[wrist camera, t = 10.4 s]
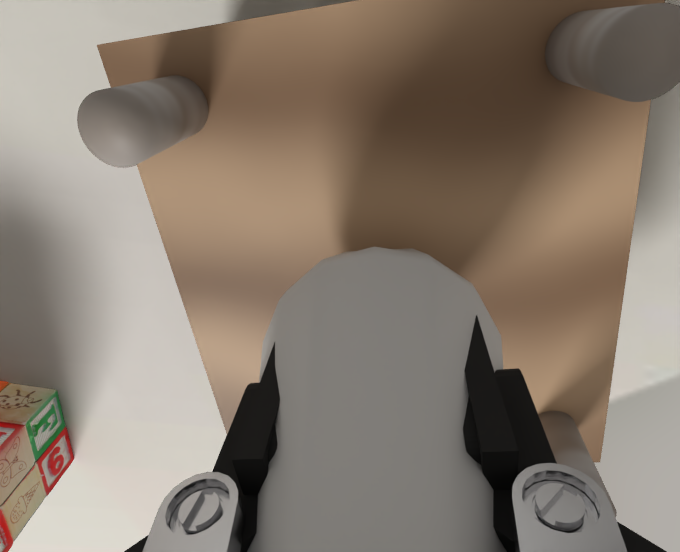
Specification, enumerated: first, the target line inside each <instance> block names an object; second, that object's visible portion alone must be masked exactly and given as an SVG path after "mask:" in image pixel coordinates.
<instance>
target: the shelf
mask: <svg viewBox="0 0 680 552" xmlns="http://www.w3.org/2000/svg"><path fill="white" fill-rule="evenodd" d="M97 47H98V50H99V53H100V56H101V59H102V62H103V65H104V68H105V71H106V74H107V77H108V80H109V83H110V86H111V88H108V89H103V90H98V91H95V92H93V93H91V94H89V95H88V96H87V97H86V98H85V99H84V100H83V101H82V103H81V105H80V107H79V110H78V118H77V121H78V128H79V132H80V135H81V137H82V140H83V142H84V143H85V145H86V146H87V148H88V149H89V150H90V151H91V153H92V154H93V155H95V156H96V157H97V158H98V159H99V160H101V161H103V162H104V163H106V164H108V165H111V166H114V167H120V168H127V167H132V166H135V165H137V167H138V170H139V173H140V176H141V179H142V182H143V185H144V188H145V191H146V194H147V197H148V200H149V203H150V206H151V209H152V212H153V215H154V218H155V221H156V224H157V227H158V229H159V232H160V235H161V238H162V241H163V244H164V247H165V250H166V253H167V256H168V259H169V262H170V265H171V268H172V271H173V274H174V277H175V280H176V283H177V286H178V289H179V292H180V295H181V298H182V301H183V304H184V307H185V310H186V313H187V316H188V319H189V322H190V325H191V328H192V331H193V334H194V337H195V340H196V343H197V346H198V349H199V352H200V355H201V358H202V361H203V364H204V367H205V370H206V373H207V376H208V379H209V382H210V385H211V388H212V391H213V394H214V397H215V400H216V403H217V406H218V409H219V412H220V415H221V418H222V421H223V424H224V427H225V430H226V433H227V434H228V431H229V429H230V426H231V424H232V421H233V419H234V416H235V414H236V411H237V409H238V406H239V404H240V401H241V399H242V396H243V394H244V391H245V389H246V387H247V385H248V384H250V383H259V377H260V367H261V356H262V345H263V340H264V338H265V335H266V332H267V330H268V327H269V325H270V322H271V320H272V317H273V314H274V312H275V309H276V307H277V304H278V302H279V300H280V298H281V297H282V296H283V295H284V294H285V292H286V291H287V290H288V289H289V288H290V287H292V286H293V285H294V284H295V283H296V282H297V281H298V280H299V279H301V278H302V277H303V276H304V275H305V274H306V273H307V272H309V271H310V270H311V269H312V268H313V267H314V266H315V265H316V264H318V263H319V262H320V261H321V260H322V259H325V258H329V257H332V256H335V255H338V254H341V253H344V252H350V251H359V250H362V249H366V248H370V247H381V248H387V249H415V250H418V251H420V252H423V253H425V254H428V255H430V256H431V257H433V258H434V259H436V260H437V261H439V262H440V263H442V264H443V265H445V266H446V267H448V268H449V269H451V270H452V271H454V272H455V273H457V274H458V275H460V276H461V277H463V278H464V279H466V280H467V281H469V282H470V283H472V285H473V286H474V288H475V289H476V291H477V292H478V294H479V296H480V298H481V299H482V301H483V303H484V305H485V307H486V309H487V311H488V312H489V314H490V316H491V318H492V320H493V322H494V324H495V325H496V327H497V329H498V331H499V333H500V335H501V341H502V356H503V369H516V368H519V369H520V370H521V372H522V374H523V377H524V379H525V382H526V384H527V387H528V390H529V392H530V395H531V397H532V400H533V403H534V405H535V408H536V410H537V413H538V416H539V418H540V421H541V423H542V426H543V429H544V431H545V434H546V436H547V439H548V441H549V444H550V447H551V449H552V452H553V454H554V457H555V460H556V462H557V464H561V465H566V466H569V467H571V468H574V469H577V470H579V471H581V472H583V473H584V474H586V475H587V476H589V477H590V478H592V479H593V480H594V481H595V482H596V483H597V484H598V485H599V486H600V487H601V488H602V489H603V490H604V492H605V494H606V496H607V498H608V499H609V501H610V503H611V506H612V509H613V512H614V515H615V518H616V509H615V507H614V505H613V503H612V501H611V498H610V496H609V494H608V492H607V490H606V488H605V486H604V484H603V481H602V479H601V477H600V475H599V473H598V471H597V469H596V467H595V464H594V462H600V459H601V451H602V445H603V438H604V430H605V424H606V416H607V409H608V402H609V395H610V388H611V381H612V374H613V367H614V359H615V352H616V345H617V338H618V331H619V324H620V317H621V310H622V302H623V295H624V288H625V281H626V274H627V267H628V260H629V253H630V245H631V238H632V231H633V224H634V217H635V210H636V203H637V196H638V188H639V181H640V174H641V167H642V160H643V153H644V146H645V139H646V131H647V124H648V117H649V110H650V103H651V99H654V98H657V97H659V96H661V95H663V94H665V93H666V92H668V91H669V90H671V89H672V88H673V87H674V86H676V85H677V84H678V83H679V82H680V7H679V6H677V5H674V4H670V3H665V0H356V1H350V2H345V3H339V4H333V5H327V6H321V7H315V8H310V9H304V10H298V11H292V12H286V13H280V14H275V15H269V16H263V17H257V18H251V19H246V20H240V21H234V22H228V23H222V24H216V25H211V26H205V27H199V28H193V29H187V30H182V31H176V32H170V33H164V34H158V35H152V36H147V37H141V38H135V39H129V40H123V41H118V42H112V43H106V44H100V45H97Z"/></svg>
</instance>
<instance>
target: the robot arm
mask: <svg viewBox="0 0 680 552" xmlns="http://www.w3.org/2000/svg"><path fill="white" fill-rule="evenodd" d="M464 371H465V377H466V382H467V388H468V393H469V398H468V403H467V409H466V414H465V420H464V425H463V434H464V440H465V447H466V452H467V453H468V454H469V455H470V456H471V457H472V458H473V459H474V460H475V461H476V462H477V463H479V464H480V465H481V468H482V473H483V475H484V476H485V478H486V479H487V481H488V482H489V484H490V485H491V487H492V489H493V527H494V529H495V532H496V534H497V536H498V538H499V540H500V541H501V543H502V545H503V546H504V548H505V549H506V551H507V552H666V551H664V550H663V549H661V548H660V547H658V546H656V545H655V544H653V543H651V542H650V541H648V540H646V539H645V538H643V537H642V536H640V535H638V534H637V533H635V532H633V531H632V530H630V529H628V528H627V527H625V526H623V525H622V524H620V523H619V522H617V520H616V518H615V515H614V512H613V509H612V506H611V503H610V501H609V499H608V498H607V496H606V494H605V492H604V490H603V489H602V488H601V487H600V486H599V485H598V484H597V483H596V482H595V481H594V480H593V479H592V478H590V477H589V476H587V475H586V474H584V473H583V472H581V471H579V470H577V469H574V468H571V467H569V466H566V465H561V464H557V462H556V460H555V457H554V454H553V452H552V449H551V447H550V444H549V441H548V439H547V436H546V434H545V431H544V429H543V426H542V423H541V421H540V418H539V416H538V413H537V410H536V408H535V405H534V403H533V400H532V397H531V395H530V392H529V390H528V387H527V384H526V382H525V379H524V377H523V374H522V372H521V370H520V369H519V368H516V369H498V370H496V371H495V372H494V369H493V366H492V362H491V359H490V356H489V353H488V349H487V346H486V343H485V340H484V336H483V333H482V330H481V326H480V323H479V320H478V317H477V315H476V318H475V323H474V328H473V332H472V337H471V342H470V347H469V351H468V356H467V361H466V365H465V370H464ZM279 403H280V395H279V388H278V382H277V375H276V369H275V342H274V345H273V348H272V350H271V353H270V356H269V359H268V361H267V364H266V367H265V370H264V372H263V375H262V378H261V381H260V383H250V384H248V385H247V387H246V389H245V391H244V394H243V396H242V399H241V401H240V404H239V406H238V409H237V411H236V414H235V416H234V419H233V421H232V424H231V426H230V429H229V431H228V434H227V436H226V439H225V441H224V444H223V446H222V449H221V451H220V454H219V456H218V459H217V461H216V464H215V466H214V469H213V471H212V472H206V473H201V474H197V475H194V476H192V477H190V478H188V479H186V480H184V481H183V482H181V483H180V484H179V485H177V486H176V487H174V488H173V489H172V490H171V492H170V493H169V494H168V495H167V496H166V497H165V498H164V500H163V502H162V504H161V506H160V508H159V509H158V512H157V515H156V517H155V520H154V523H153V525H152V528H151V531H150V533H149V535H148V536H146V537H145V538H143V539H142V540H141V541H139V542H138V543H136V544H135V545H133V546H132V547H130V548H129V549H127V550H126V551H125V552H247V551H248V549H249V547H250V545H251V543H252V541H253V539H254V537H255V535H256V531H257V507H258V494H259V491H260V489H261V487H262V485H263V483H264V481H265V479H266V477H267V474H268V465H269V462H270V461H271V459H272V458H273V456H274V455H275V452H276V450H277V444H278V443H277V435H276V427H275V423H276V419H277V414H278V408H279Z"/></svg>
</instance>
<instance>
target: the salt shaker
mask: <svg viewBox="0 0 680 552" xmlns="http://www.w3.org/2000/svg"><path fill="white" fill-rule="evenodd" d="M476 315H477V317H478V320H479V323H480V326H481V330H482V333H483V336H484V340H485V343H486V346H487V349H488V353H489V356H490V359H491V362H492V366H493V369H494V372H495V371H496V370H498V369H503V356H502V341H501V335H500V333H499V331H498V329H497V327H496V325H495V324H494V322H493V320H492V318H491V316H490V314H489V312H488V311H487V309H486V307H485V305H484V303H483V301H482V299H481V298H480V296H479V294H478V292H477V291H476V289H475V288H474V286H473V285H472V283H470V282H469V281H467V280H466V279H464V278H463V277H461V276H460V275H458V274H457V273H455V272H454V271H452V270H451V269H449V268H448V267H446V266H445V265H443V264H442V263H440V262H439V261H437V260H436V259H434V258H433V257H431V256H430V255H428V254H425V253H423V252H420V251H418V250H415V249H387V248H381V247H370V248H366V249H362V250H359V251H350V252H344V253H341V254H338V255H335V256H332V257H329V258H325V259H322V260H321V261H320V262H319V263H318V264H316V265H315V266H314V267H313V268H312V269H311V270H310V271H309V272H307V273H306V274H305V275H304V276H303V277H302V278H301V279H299V280H298V281H297V282H296V283H295V284H294V285H293V286H292V287H290V288H289V289H288V290H287V291H286V292H285V294H284V295H283V296H282V297H281V298H280V300H279V302H278V304H277V307H276V309H275V312H274V314H273V317H272V320H271V322H270V325H269V327H268V330H267V332H266V335H265V338H264V340H263V345H262V356H261V367H260V377H259V383H260V381H261V378H262V375H263V372H264V370H265V367H266V364H267V361H268V359H269V356H270V353H271V350H272V348H273V345H274V342H275V369H276V375H277V382H278V388H279V395H280V403H279V408H278V414H277V419H276V423H275V427H276V435H277V443H278V444H277V450H276V452H275V455H274V456H273V458H272V459H271V461H270V462H269V465H268V474H267V477H266V479H265V481H264V483H263V485H262V487H261V489H260V491H259V494H258V507H257V531H256V535H255V537H254V539H253V541H252V543H251V545H250V547H249V549H248V551H247V552H507V551H506V549H505V548H504V546H503V545H502V543H501V541H500V540H499V538H498V536H497V534H496V532H495V529H494V527H493V489H492V487H491V485H490V484H489V482H488V481H487V479H486V478H485V476H484V475H483V473H482V468H481V465H480V464H479V463H477V462H476V461H475V460H474V459H473V458H472V457H471V456H470V455H469V454H468V453H467V452H466V447H465V440H464V434H463V425H464V420H465V414H466V409H467V403H468V398H469V393H468V388H467V382H466V377H465V371H464V370H465V365H466V361H467V356H468V351H469V347H470V342H471V337H472V332H473V328H474V323H475V318H476Z"/></svg>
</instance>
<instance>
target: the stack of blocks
mask: <svg viewBox="0 0 680 552" xmlns="http://www.w3.org/2000/svg"><path fill="white" fill-rule="evenodd" d="M73 460H74V456H73V452H72V448H71V444H70V440H69V436H68V432H67V428H66V426H65V422H64V418H63V414H62V410H61V405H60V401H59V397H58V392H57V390H55V389H48V388H41V387H34V386H27V385H20V384H13V383H9V382H6V381H0V552H8V551H9V549H10V548H11V546H12V544H13V542H14V540H15V539H16V538H17V537H18V535H19V534H20V532H21V531H22V530H23V528H24V527H25V525H26V524H27V522H28V521H29V520H30V518H31V517H32V515H33V514H34V513H35V511H36V510H37V509H38V507H39V506H40V504H41V503H42V502H43V500H44V498H45V497H46V496H47V495H48V494H49V493H50V492H51V490H52V489H53V488H54V486H55V485H56V483H57V482H58V481H59V479H60V478H61V476H62V475H63V474H64V472H65V471H66V470H67V468H68V467H69V466H70V464H71V463H72V461H73Z"/></svg>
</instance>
